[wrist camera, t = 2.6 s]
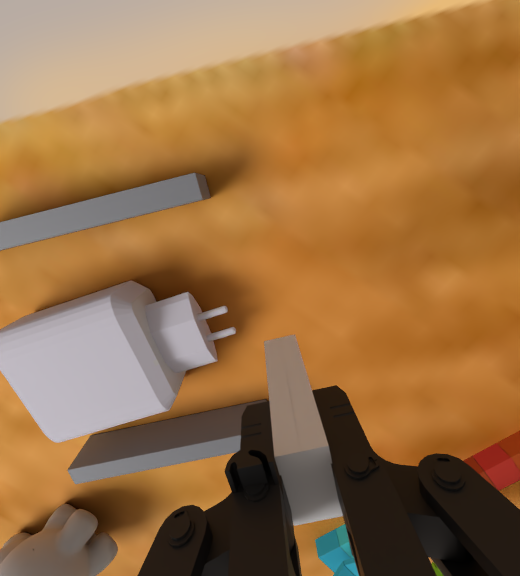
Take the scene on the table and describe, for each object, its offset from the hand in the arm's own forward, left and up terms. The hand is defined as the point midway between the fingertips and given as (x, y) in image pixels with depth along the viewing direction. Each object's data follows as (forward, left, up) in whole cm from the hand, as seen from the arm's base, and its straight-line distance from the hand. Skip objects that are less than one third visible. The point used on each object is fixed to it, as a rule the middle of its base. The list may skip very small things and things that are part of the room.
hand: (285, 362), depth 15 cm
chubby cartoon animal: (+26, +18, -9) cm, 33 cm away
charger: (+11, +1, -10) cm, 14 cm away
